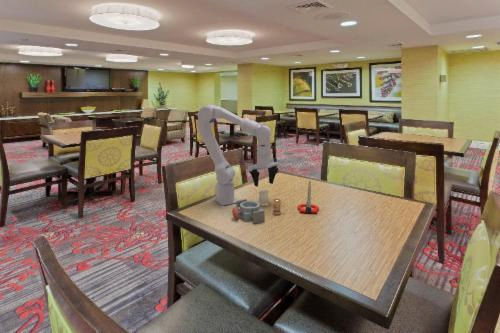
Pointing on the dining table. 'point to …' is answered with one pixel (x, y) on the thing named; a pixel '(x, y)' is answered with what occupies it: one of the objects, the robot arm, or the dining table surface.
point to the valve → (249, 211)
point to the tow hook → (308, 204)
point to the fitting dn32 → (276, 207)
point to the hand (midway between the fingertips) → (263, 184)
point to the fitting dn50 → (263, 198)
